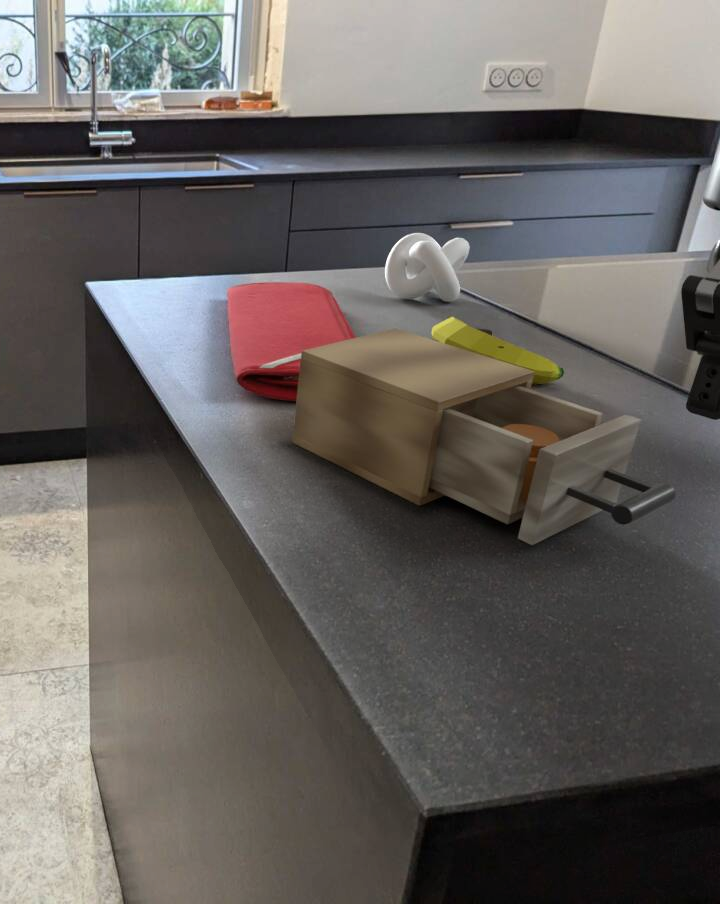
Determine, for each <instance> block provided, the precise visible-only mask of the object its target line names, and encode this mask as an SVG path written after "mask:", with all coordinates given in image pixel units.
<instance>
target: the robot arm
mask: <svg viewBox="0 0 720 904" xmlns="http://www.w3.org/2000/svg"><path fill="white" fill-rule="evenodd" d="M711 164H712V165H711V168H710V171H709V174H708V178H707V180H706V185H705V187H704V191H703V193H702V202H703V204H704V205H705V206H706V207H708V208H709V209H712V210H714V211H719V212H720V140H719V141H718V144H717V148H716V151H715V154H714V158H713V160H712V163H711ZM706 271H707V274H706V276H705V277H703V276H699V275H694V274H690V275H688V276H687V277H686V278H685V280H684V281H683V283H682V285H681V290H680V295H681V303H682V304H681V305H682V316H683V327H684V335H685V347H686V350H688V351H693V352H696V353H697V355H699V356H701V357H700V360H699V364H698V366H697V368H696V371H695V372H696V373H695V376H694V379H693V382H692V385H691V387H690V388H691V389H690V391H689V394H688V397H687V400H686V402H685V403H686V404H685V408H686V410H687V411H688V412H689V413H690V414H694V415H697V416H700V417H703V418H707V419H711V420H714V421H717V420H720V238H719V239H718V241H717V242H716V243H715V244H714V245H713V247H712V249H711V250H710V254H709V258H708V261H707V265H706Z"/></svg>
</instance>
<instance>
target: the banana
mask: <svg viewBox="0 0 720 904" xmlns="http://www.w3.org/2000/svg"><path fill="white" fill-rule="evenodd" d="M431 337H432V340H435V341H438V342H441V343H444V344H448V345H451V346H454V347H457V348H460V349H464V350H467V351H470V352H473V353H477V354H480V355H483V356H486V357H490V358H493V359H496V360H499V361H502V362H506V363H509V364H512V365H515V366H519V367H522V368H525V369H528V370H532V371H534V372H535V373H534V377H533V380H532V385H546V384H549V383H552V382H555V381H558V380H559V379H561V378H562V377H564V375H565V371H564V368H563V367H560V366H559V365H557V363H555V362H553V360H550V359H548V358H546V357H544V356H542V355H540V354H537V353H535V352H532V351H530V350H527V349H525V348H522V347H520V346H517V345H515V344H513V343H510V342H508V341H505V340H503V339H500V338H498V337H496V336H493V330H491V329H487V328H486V329H485V328H475V327H472V326H469V325H468V324H467V323H465V322H464V321H463V320H460V319H458V318H456V317H454V316H450V317H449V318H447V319H445V320H443V321H441V322H439V323H437V324H435V325H433V326H432V328H431Z"/></svg>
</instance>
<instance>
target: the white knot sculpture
mask: <svg viewBox="0 0 720 904" xmlns="http://www.w3.org/2000/svg"><path fill="white" fill-rule="evenodd" d="M470 249H471V247H470V243H469V241H467V240H466V239H465V238H463V237H455V238H453V239H450V240H448V241H447V242H446V243H445V244H444V245H442V246H440V244H439V243H438V242H437V241H436V240H435V239H434V238H433V237H432V236H431V235H428V234H426V233H422V232H413V233H409V234H406V235H405V236H403V237H401V238H400V239H399V240H398V241H397V242H396V243H395V244H394V246H393V247H392V248H391V251H390V252H389V254H388V256H387V259H386V261H385V262H386V263H385V268H384V277H385V281H386V285H387V287H388V288H389V290H390V291H391V293H393V294H394V295H395V296H397V297H398V298H401V299H404V300H414V299H417V298H419V297H422V296H424V295H426V294H428V293H429V292H430V291H433V290H434V291H435V293H436V295H437V297H438V298H439V299H440V300H442V302H446V303H451V302H453V301H456V300H457V299H458V298H459V297H460V294H461V285H460V282H459V279H458V276H457V274H456V272H457V271H458V270H459V269H460V268H461V267H462V266H463V264H464V263H465V261H466V260H467V258H468V256H469V253H470Z"/></svg>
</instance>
